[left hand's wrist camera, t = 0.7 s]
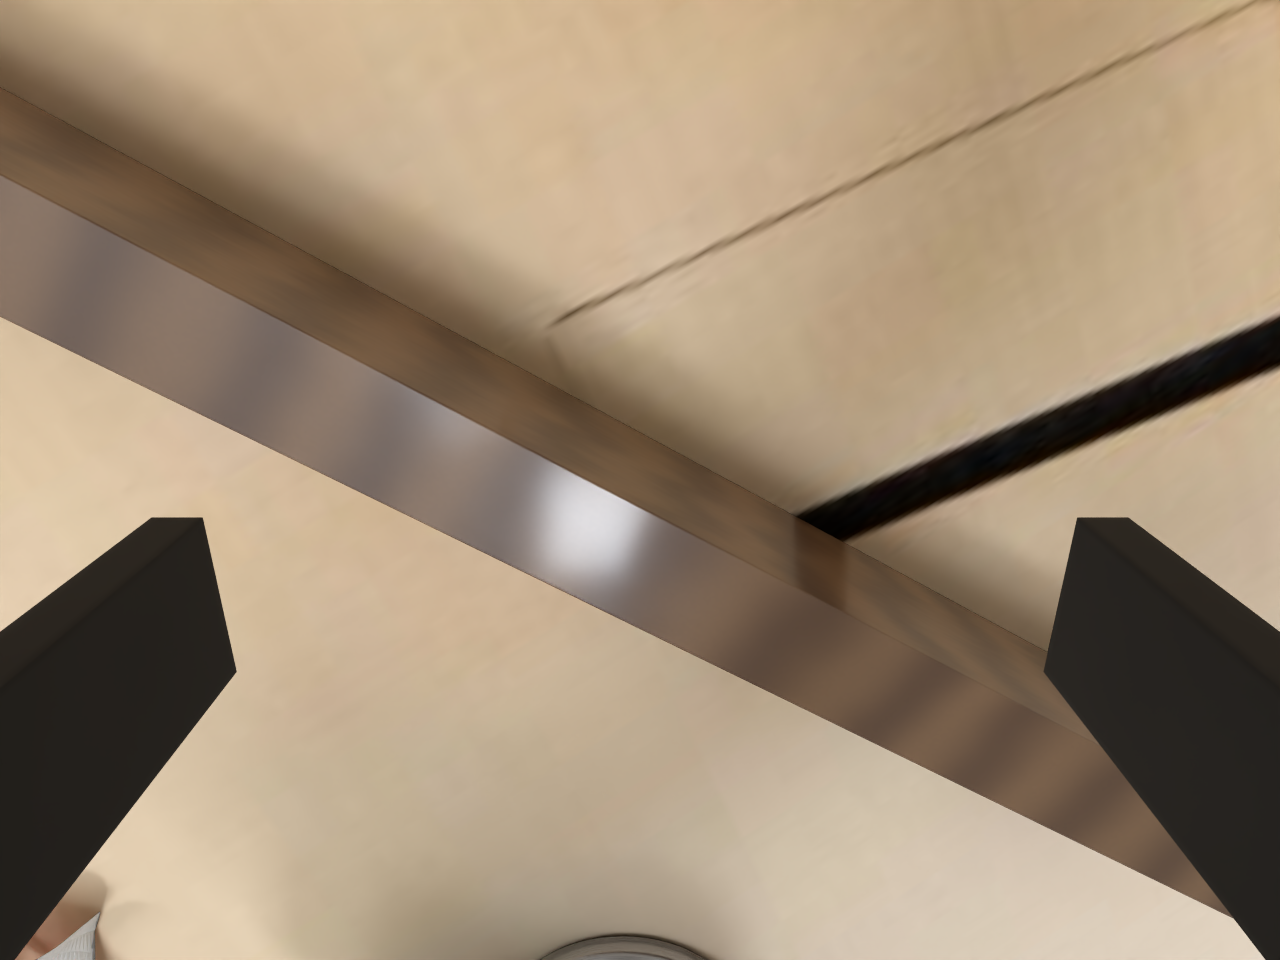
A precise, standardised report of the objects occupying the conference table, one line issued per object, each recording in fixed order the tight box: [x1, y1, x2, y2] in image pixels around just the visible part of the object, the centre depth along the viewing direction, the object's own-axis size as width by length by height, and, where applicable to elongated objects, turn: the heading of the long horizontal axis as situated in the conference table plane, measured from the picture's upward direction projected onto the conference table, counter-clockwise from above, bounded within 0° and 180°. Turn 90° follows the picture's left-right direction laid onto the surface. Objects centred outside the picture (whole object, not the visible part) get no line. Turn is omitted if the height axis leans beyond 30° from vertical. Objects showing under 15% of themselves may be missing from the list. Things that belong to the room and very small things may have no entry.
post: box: [0, 88, 1233, 918], centre depth 35 cm, size 77×5×8 cm, turn 60°
